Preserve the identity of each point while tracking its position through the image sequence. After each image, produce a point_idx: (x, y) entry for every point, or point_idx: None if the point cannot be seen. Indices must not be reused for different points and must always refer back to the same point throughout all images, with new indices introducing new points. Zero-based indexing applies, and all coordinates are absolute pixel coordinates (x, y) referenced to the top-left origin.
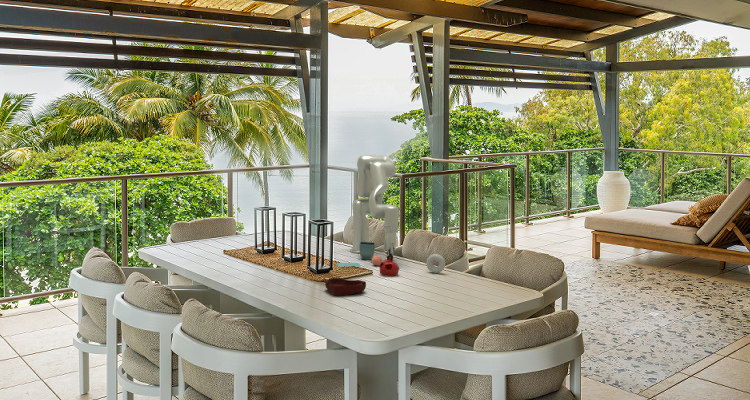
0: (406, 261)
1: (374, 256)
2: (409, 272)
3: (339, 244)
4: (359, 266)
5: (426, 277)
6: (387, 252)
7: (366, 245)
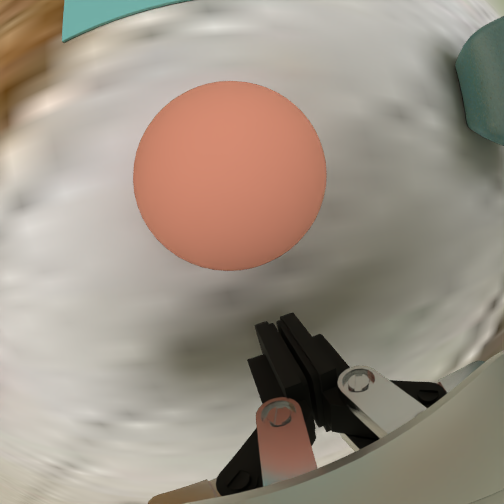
0: (433, 376)
1: (212, 114)
2: (76, 456)
3: None
4: (109, 11)
5: (39, 481)
6: (363, 411)
7: None
